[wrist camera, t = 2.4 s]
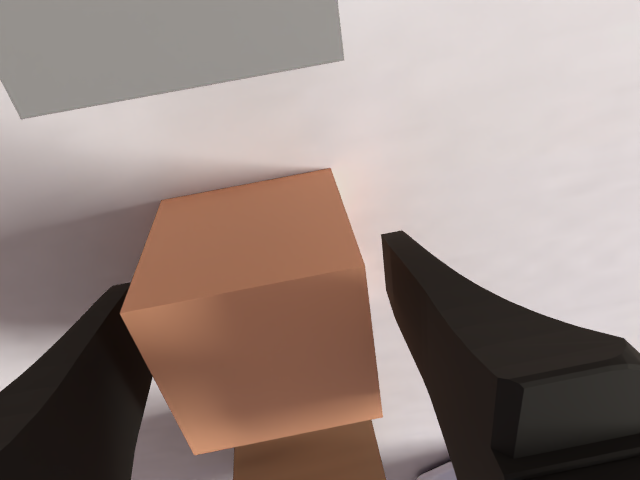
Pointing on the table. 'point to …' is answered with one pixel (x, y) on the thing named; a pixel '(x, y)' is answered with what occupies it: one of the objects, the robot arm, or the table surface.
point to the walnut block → (313, 456)
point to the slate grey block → (153, 46)
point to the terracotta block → (256, 313)
